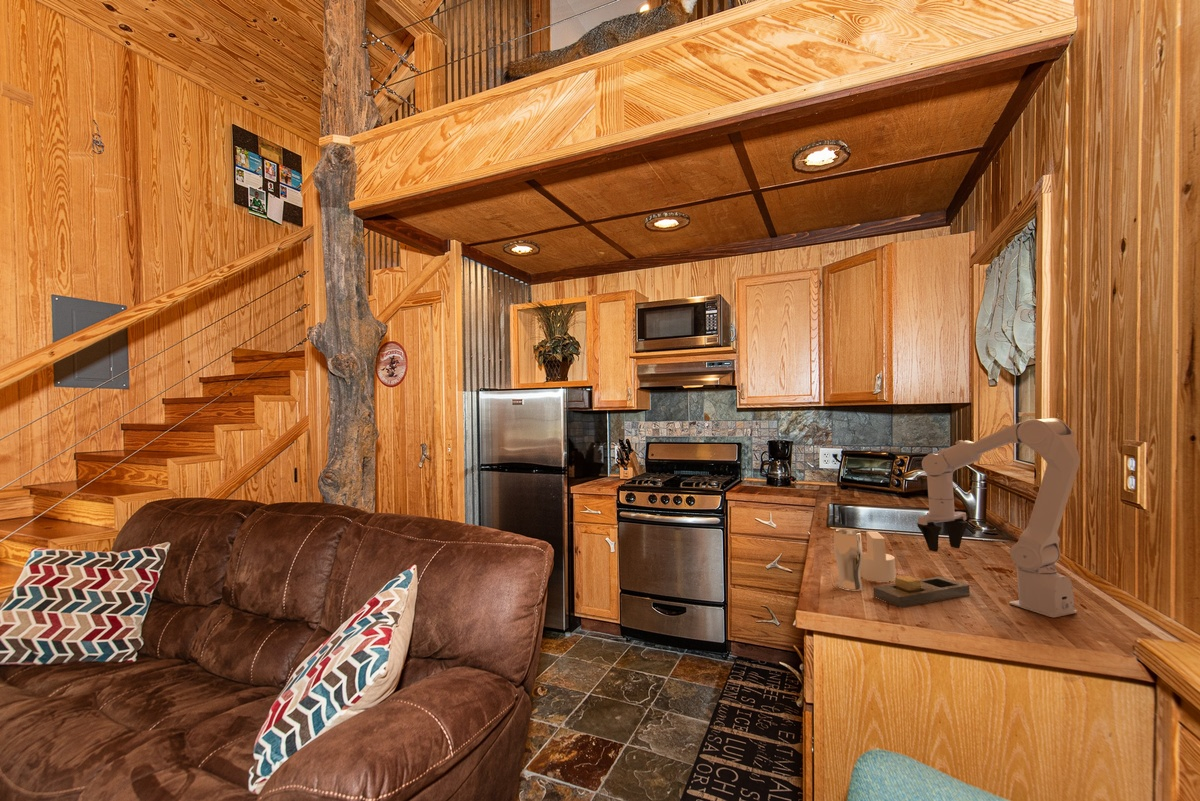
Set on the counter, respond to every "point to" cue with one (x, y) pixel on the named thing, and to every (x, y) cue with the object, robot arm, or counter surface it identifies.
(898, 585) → the golden brown block
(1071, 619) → the counter surface
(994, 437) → the robot arm
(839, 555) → the beer glass
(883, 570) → the cylinder with rectangular tab
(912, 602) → the grey slotted board
